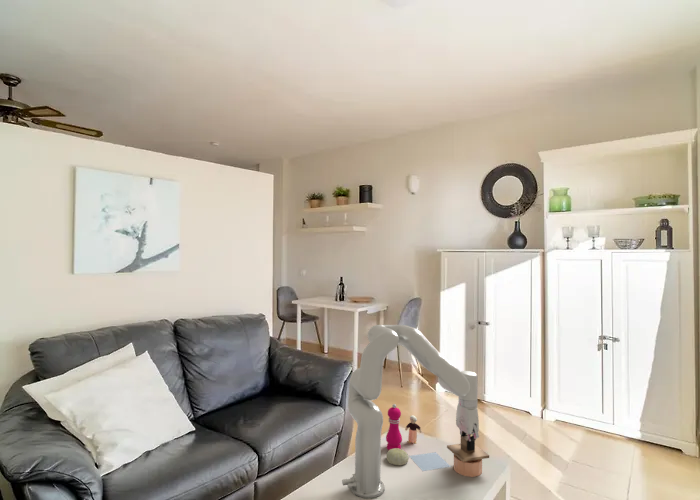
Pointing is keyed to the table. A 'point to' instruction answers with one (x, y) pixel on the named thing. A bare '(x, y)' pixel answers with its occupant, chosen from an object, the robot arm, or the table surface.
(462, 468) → the bowl
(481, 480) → the table surface
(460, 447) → the lid
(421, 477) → the table surface
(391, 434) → the pepper mill
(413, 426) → the grandmother figurine
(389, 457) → the sea urchin shell
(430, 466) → the mat
